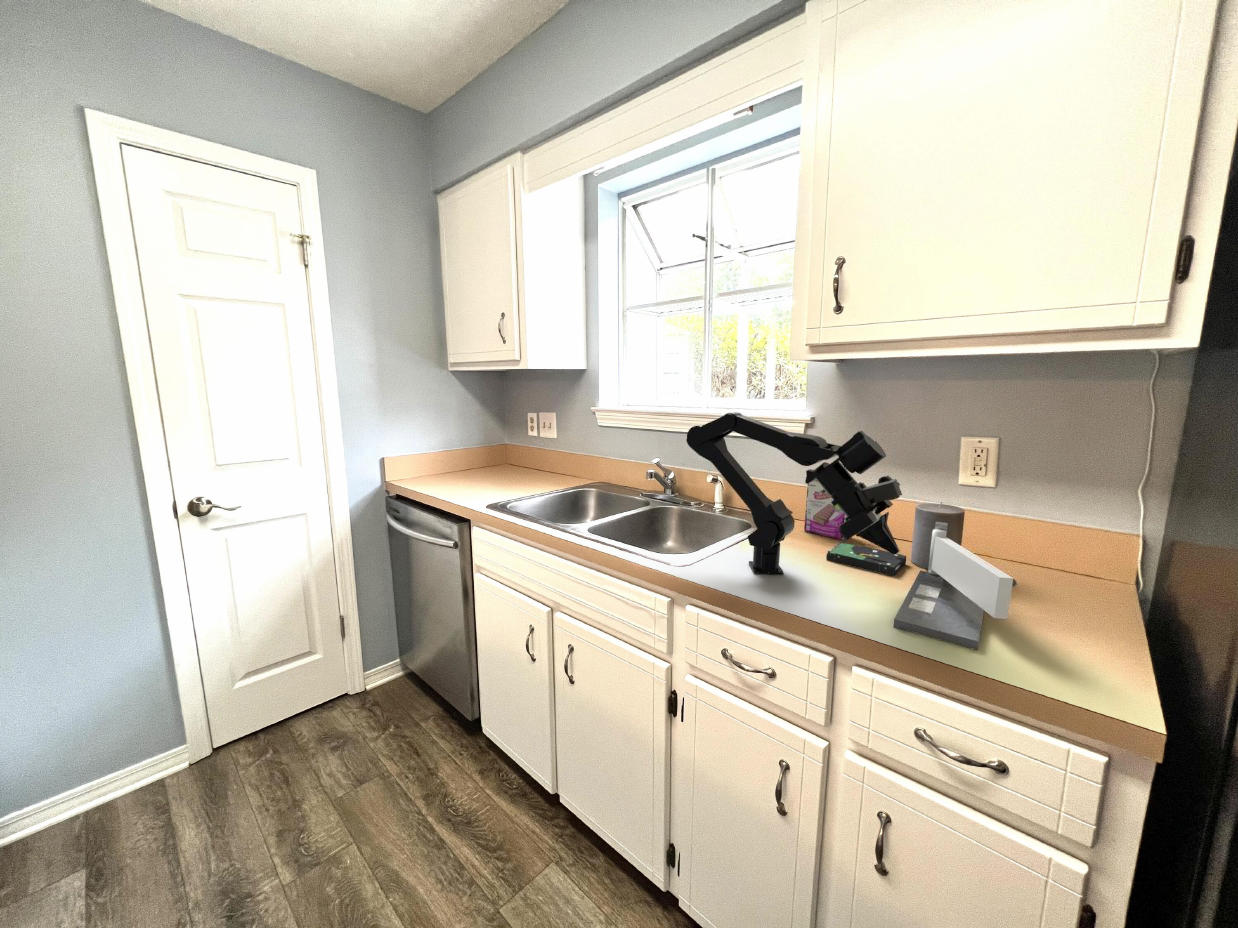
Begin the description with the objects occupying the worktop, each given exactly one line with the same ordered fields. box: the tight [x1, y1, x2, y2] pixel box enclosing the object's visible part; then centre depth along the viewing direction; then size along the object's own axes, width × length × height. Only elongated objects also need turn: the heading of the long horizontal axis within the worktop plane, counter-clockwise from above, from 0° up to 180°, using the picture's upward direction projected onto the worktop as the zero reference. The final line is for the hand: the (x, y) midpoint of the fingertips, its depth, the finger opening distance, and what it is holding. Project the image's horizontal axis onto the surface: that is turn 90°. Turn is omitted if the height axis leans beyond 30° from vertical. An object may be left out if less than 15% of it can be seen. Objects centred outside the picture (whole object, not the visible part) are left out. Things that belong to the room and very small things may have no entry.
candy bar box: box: [803, 479, 853, 541], centre depth 138 cm, size 11×5×16 cm, turn 43°
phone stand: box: [892, 522, 985, 651], centre depth 94 cm, size 12×29×13 cm, turn 142°
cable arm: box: [927, 529, 1017, 620], centre depth 93 cm, size 24×4×9 cm, turn 172°
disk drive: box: [825, 541, 907, 577], centre depth 118 cm, size 10×3×15 cm
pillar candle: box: [910, 502, 966, 570], centre depth 116 cm, size 10×10×15 cm
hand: (897, 552), depth 96 cm, fingers closed
